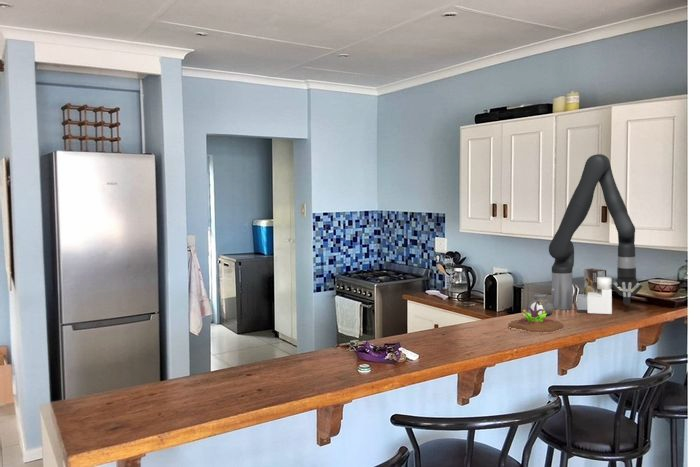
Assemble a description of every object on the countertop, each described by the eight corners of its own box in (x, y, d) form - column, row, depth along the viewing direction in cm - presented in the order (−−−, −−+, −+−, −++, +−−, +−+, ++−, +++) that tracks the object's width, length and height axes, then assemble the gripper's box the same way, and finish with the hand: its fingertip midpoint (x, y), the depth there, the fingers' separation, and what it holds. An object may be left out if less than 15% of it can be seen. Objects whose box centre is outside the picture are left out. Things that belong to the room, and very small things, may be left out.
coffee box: (607, 302, 282) (607, 270, 281) (598, 303, 280) (597, 271, 279) (592, 299, 291) (592, 268, 290) (583, 300, 288) (583, 269, 287)
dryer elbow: (587, 313, 259) (587, 278, 258) (588, 309, 266) (587, 276, 265) (611, 314, 255) (611, 279, 254) (611, 310, 262) (611, 276, 261)
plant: (572, 329, 233) (572, 302, 233) (539, 337, 223) (539, 308, 222) (533, 321, 250) (532, 295, 250) (501, 328, 240) (500, 301, 239)
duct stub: (577, 312, 262) (577, 296, 261) (577, 310, 267) (577, 294, 267) (598, 313, 258) (598, 297, 258) (598, 311, 263) (598, 294, 263)
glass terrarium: (544, 319, 250) (543, 295, 251) (527, 318, 256) (526, 295, 257) (557, 317, 258) (556, 294, 259) (541, 316, 264) (540, 294, 265)
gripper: (610, 267, 254) (610, 306, 255) (643, 267, 248) (643, 307, 250) (610, 265, 261) (610, 302, 262) (642, 265, 255) (643, 304, 256)
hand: (626, 304), depth 256 cm, fingers closed
